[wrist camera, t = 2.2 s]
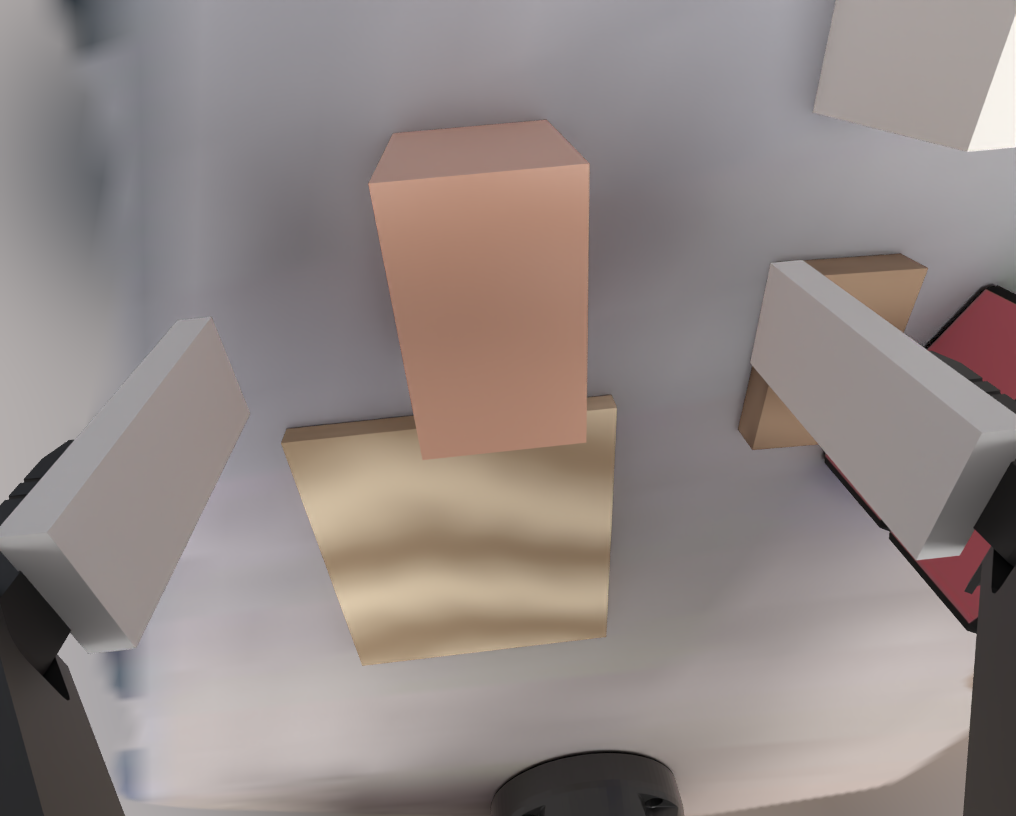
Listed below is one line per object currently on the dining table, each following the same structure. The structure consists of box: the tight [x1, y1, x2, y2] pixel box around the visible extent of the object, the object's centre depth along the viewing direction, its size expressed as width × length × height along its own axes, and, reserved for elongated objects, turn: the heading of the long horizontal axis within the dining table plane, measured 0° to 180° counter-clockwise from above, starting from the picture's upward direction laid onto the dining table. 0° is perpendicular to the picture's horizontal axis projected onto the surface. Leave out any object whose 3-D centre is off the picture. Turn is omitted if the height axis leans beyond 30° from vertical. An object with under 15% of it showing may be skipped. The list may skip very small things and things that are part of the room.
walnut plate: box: [738, 254, 928, 450], centre depth 24 cm, size 8×5×2 cm, turn 2°
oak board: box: [281, 395, 617, 666], centre depth 29 cm, size 16×14×1 cm
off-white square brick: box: [813, 0, 1016, 152], centre depth 15 cm, size 5×5×7 cm
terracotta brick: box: [368, 120, 589, 460], centre depth 18 cm, size 8×5×7 cm, turn 4°
